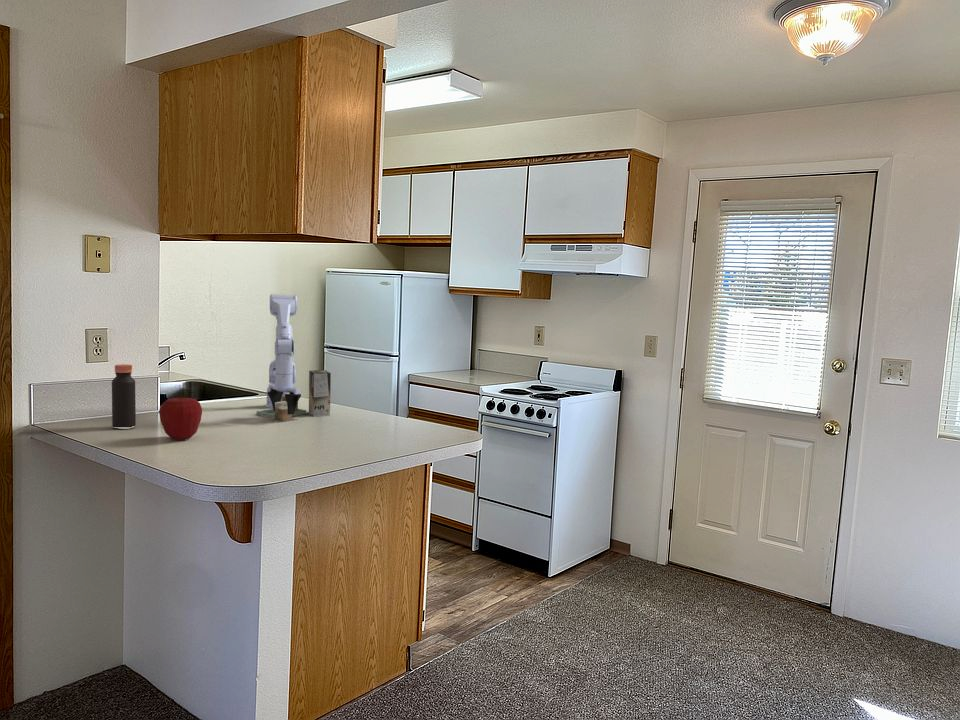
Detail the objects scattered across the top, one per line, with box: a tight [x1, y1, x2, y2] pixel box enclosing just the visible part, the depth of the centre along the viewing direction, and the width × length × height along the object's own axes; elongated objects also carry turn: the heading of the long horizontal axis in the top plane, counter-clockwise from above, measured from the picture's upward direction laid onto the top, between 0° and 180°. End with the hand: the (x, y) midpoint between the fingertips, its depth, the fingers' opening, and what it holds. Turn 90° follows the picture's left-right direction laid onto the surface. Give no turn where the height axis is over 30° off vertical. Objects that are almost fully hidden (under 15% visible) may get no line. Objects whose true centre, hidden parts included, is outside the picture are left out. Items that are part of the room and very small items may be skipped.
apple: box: [158, 395, 203, 441], centre depth 219 cm, size 12×12×13 cm
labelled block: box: [274, 401, 293, 421], centre depth 254 cm, size 4×4×6 cm
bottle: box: [111, 363, 137, 427], centre depth 232 cm, size 7×7×20 cm
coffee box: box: [308, 369, 332, 417], centre depth 267 cm, size 9×6×16 cm
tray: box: [256, 408, 307, 419], centre depth 265 cm, size 10×14×2 cm
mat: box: [269, 417, 299, 423], centre depth 254 cm, size 7×7×1 cm
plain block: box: [282, 396, 299, 412], centre depth 267 cm, size 4×4×6 cm
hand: (283, 412), depth 254 cm, fingers open, 7 cm apart
